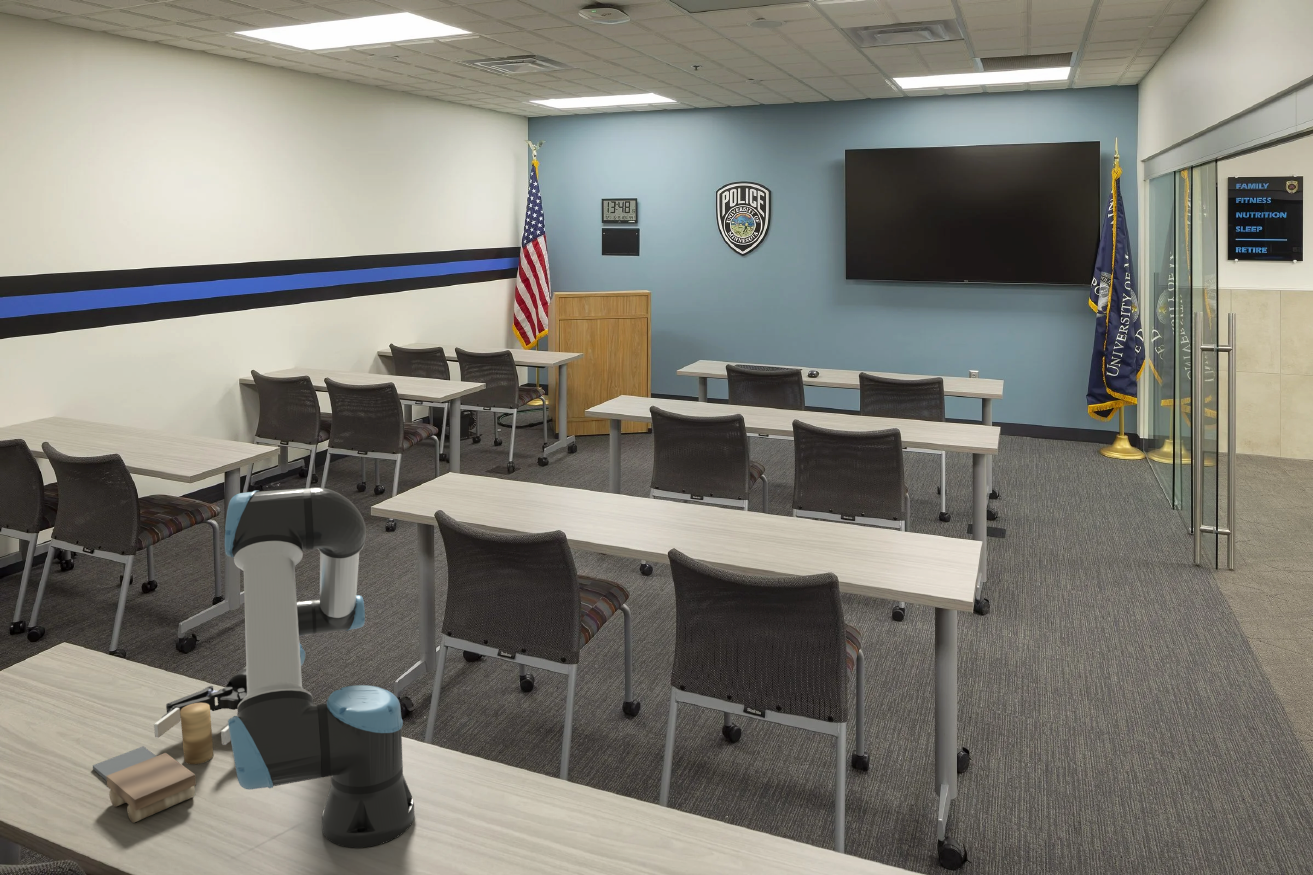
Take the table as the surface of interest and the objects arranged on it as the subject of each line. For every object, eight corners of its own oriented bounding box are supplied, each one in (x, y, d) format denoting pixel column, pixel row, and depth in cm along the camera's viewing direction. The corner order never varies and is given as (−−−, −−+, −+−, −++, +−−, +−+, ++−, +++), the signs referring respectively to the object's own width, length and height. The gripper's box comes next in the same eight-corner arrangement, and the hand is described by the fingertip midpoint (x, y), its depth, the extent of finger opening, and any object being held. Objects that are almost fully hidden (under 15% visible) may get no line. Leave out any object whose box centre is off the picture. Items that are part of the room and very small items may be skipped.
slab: (197, 800, 162) (195, 774, 162) (137, 826, 155) (134, 799, 154) (167, 777, 169) (165, 752, 168) (108, 801, 161) (106, 775, 160)
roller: (218, 756, 176) (214, 708, 175) (192, 767, 173) (188, 718, 171) (205, 747, 179) (201, 700, 178) (179, 758, 176) (175, 709, 174)
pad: (165, 766, 173) (165, 762, 172) (114, 787, 166) (113, 783, 165) (143, 749, 178) (143, 745, 178) (92, 769, 171) (92, 765, 171)
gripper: (310, 705, 193) (252, 759, 172) (199, 694, 196) (130, 746, 175) (308, 672, 191) (250, 722, 171) (197, 661, 194) (127, 709, 174)
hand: (189, 734), depth 173 cm, fingers open, 13 cm apart
